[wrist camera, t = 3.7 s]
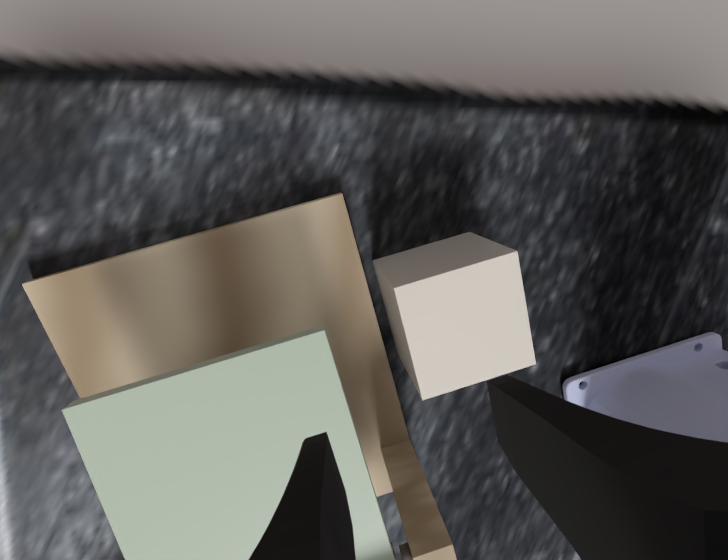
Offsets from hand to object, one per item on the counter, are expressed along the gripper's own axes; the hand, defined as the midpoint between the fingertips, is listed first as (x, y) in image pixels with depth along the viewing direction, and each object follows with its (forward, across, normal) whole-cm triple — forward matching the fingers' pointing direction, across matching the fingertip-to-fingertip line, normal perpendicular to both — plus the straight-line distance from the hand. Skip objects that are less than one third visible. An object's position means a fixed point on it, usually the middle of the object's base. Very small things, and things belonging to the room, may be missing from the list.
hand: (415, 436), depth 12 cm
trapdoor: (+6, +6, +5) cm, 10 cm away
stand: (+10, +6, +3) cm, 12 cm away
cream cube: (+10, -4, 0) cm, 11 cm away
